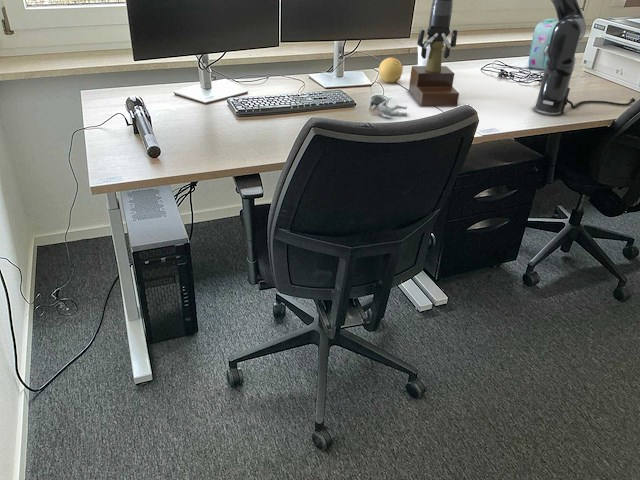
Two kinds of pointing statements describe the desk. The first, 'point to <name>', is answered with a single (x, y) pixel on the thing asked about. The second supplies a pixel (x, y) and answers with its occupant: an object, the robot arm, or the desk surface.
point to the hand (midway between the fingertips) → (434, 58)
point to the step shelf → (433, 87)
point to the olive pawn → (435, 56)
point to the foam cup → (420, 60)
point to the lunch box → (541, 43)
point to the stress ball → (390, 69)
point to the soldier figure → (388, 109)
